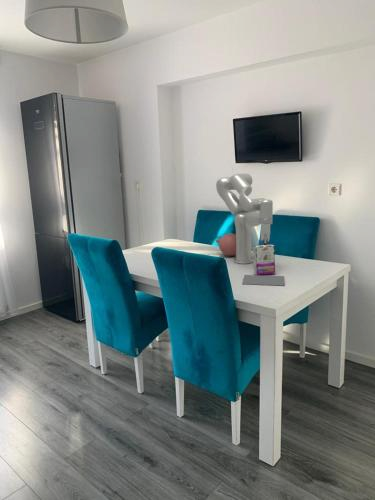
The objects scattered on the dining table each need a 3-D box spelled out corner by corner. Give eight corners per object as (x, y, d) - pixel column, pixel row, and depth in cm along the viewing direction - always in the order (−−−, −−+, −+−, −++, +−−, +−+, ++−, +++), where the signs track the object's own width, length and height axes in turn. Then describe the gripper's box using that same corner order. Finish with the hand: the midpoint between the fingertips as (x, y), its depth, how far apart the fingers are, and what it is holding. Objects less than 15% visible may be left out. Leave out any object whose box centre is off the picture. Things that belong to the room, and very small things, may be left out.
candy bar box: (271, 272, 234) (271, 244, 232) (275, 273, 229) (274, 245, 227) (253, 274, 232) (252, 245, 230) (256, 275, 227) (255, 246, 225)
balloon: (223, 251, 290) (223, 230, 287) (246, 255, 276) (246, 233, 273) (209, 255, 280) (209, 233, 276) (232, 259, 266) (232, 236, 262)
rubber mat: (244, 275, 230) (244, 274, 230) (284, 276, 225) (284, 276, 225) (242, 284, 213) (242, 283, 213) (284, 286, 209) (284, 285, 209)
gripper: (259, 219, 243) (259, 249, 247) (258, 223, 228) (258, 254, 232) (272, 219, 241) (272, 249, 245) (272, 223, 227) (271, 254, 231)
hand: (265, 251), depth 239 cm, fingers closed
